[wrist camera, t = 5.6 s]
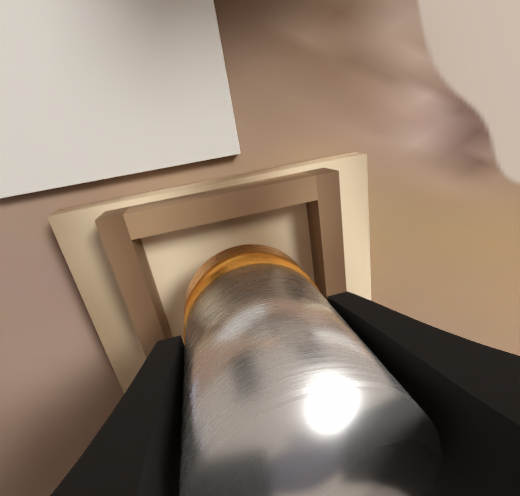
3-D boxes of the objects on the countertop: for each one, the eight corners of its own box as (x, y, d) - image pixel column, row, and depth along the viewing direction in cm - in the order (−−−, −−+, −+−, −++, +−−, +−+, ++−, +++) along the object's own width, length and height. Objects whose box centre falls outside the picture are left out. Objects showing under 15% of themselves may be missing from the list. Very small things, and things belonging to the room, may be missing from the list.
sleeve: (205, 371, 10) (220, 628, 5) (167, 265, 9) (125, 457, 3) (316, 335, 11) (444, 530, 5) (297, 229, 10) (444, 345, 4)
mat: (1, 197, 10) (-6, 199, 10) (-120, -57, 8) (-136, -67, 7) (238, 153, 11) (240, 153, 11) (197, -80, 9) (197, -89, 8)
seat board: (183, 508, 17) (182, 559, 15) (59, 209, 11) (27, 226, 8) (366, 444, 18) (388, 483, 16) (353, 152, 12) (386, 155, 10)
